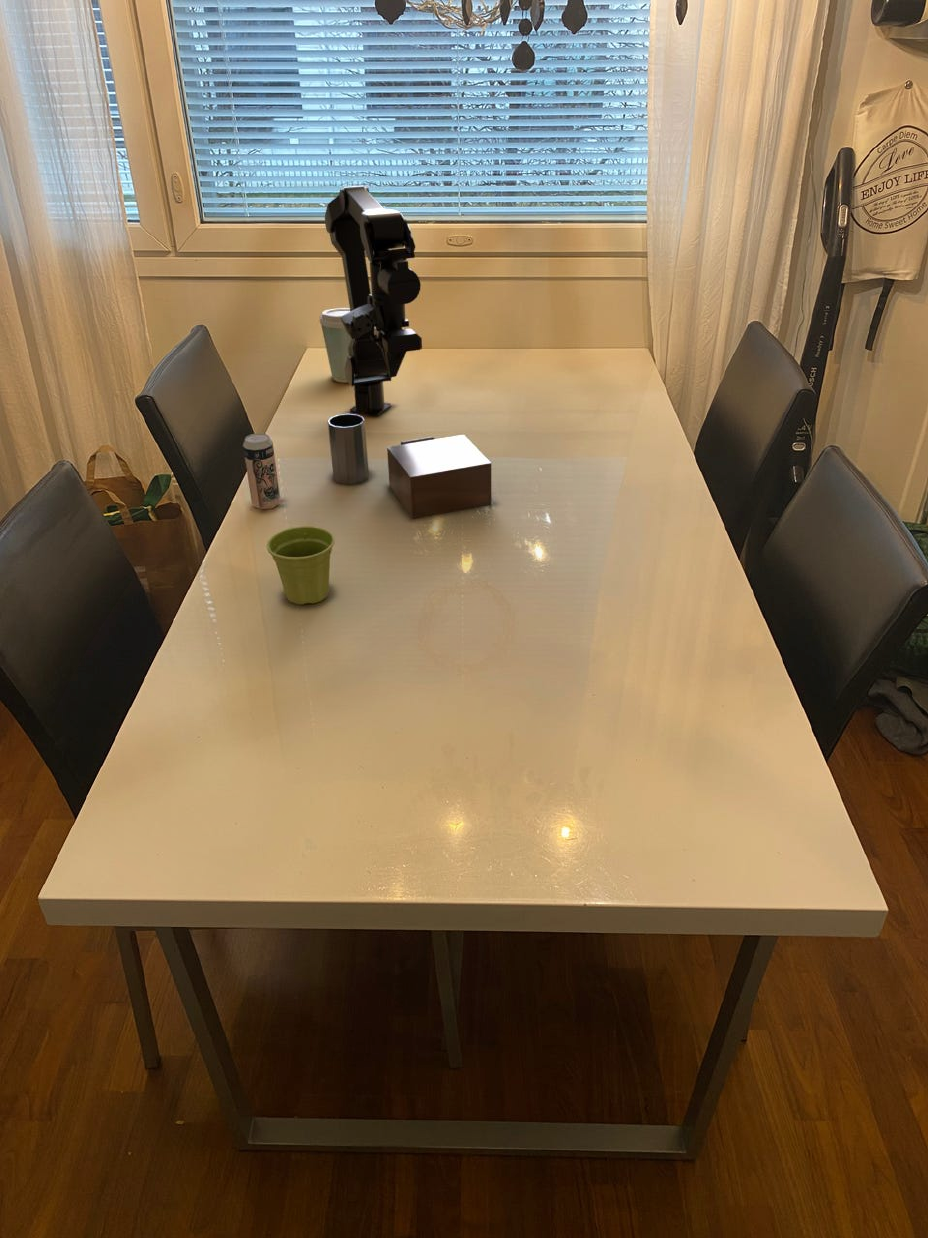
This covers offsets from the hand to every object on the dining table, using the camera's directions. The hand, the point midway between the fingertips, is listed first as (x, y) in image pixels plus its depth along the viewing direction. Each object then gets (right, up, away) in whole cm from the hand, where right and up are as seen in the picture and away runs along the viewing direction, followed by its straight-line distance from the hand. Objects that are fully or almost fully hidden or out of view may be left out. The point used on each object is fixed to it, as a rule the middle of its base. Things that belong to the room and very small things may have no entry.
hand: (392, 376), depth 177 cm
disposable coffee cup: (-13, +9, +38) cm, 41 cm away
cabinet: (+9, -24, -12) cm, 28 cm away
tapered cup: (-7, -19, -6) cm, 21 cm away
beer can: (-20, -25, -14) cm, 36 cm away
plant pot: (-9, -41, -39) cm, 57 cm away
